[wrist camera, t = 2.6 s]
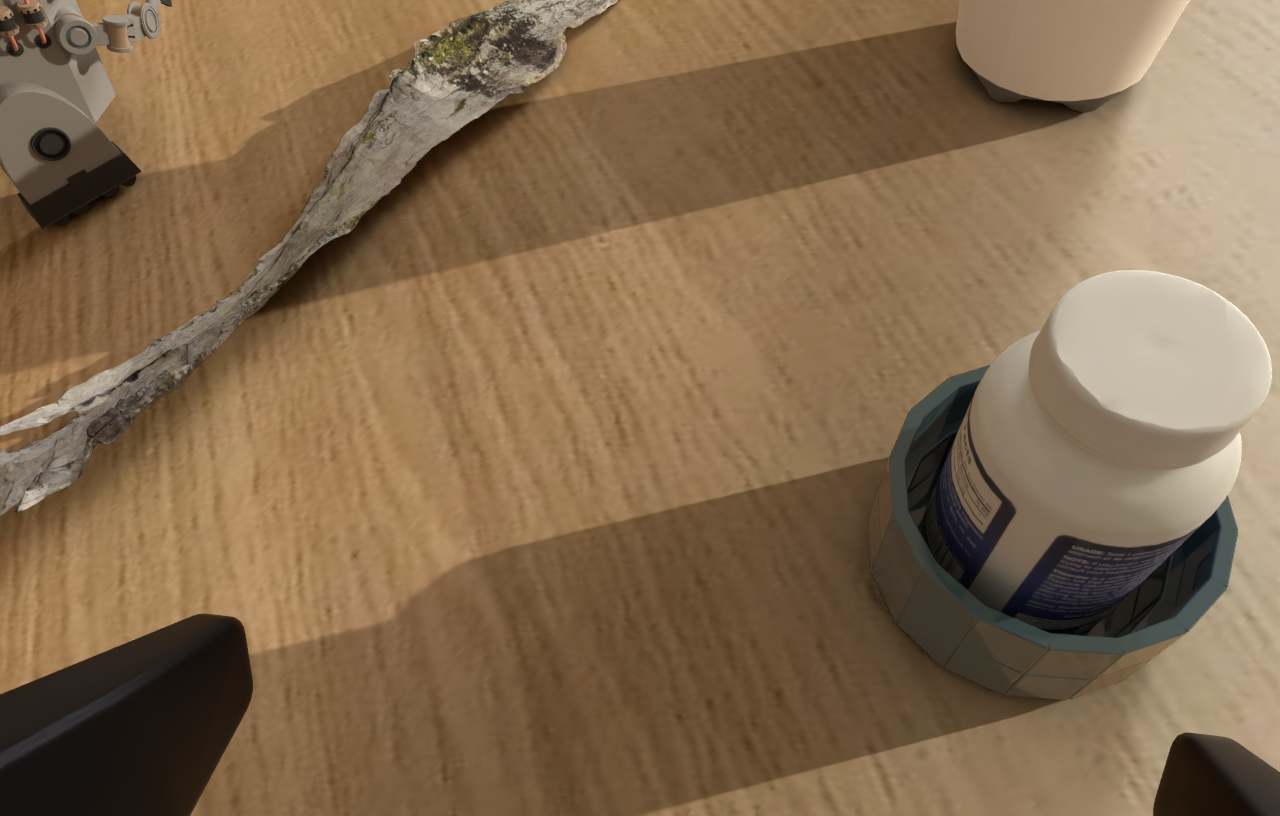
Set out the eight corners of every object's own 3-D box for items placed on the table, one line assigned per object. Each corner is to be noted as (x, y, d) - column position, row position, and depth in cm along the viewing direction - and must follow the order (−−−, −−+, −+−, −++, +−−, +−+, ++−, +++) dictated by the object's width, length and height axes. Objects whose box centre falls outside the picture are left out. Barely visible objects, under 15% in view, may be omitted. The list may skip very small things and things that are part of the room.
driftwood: (649, -1, 42) (565, -18, 44) (641, -55, 40) (554, -70, 42) (-49, 650, 25) (-126, 572, 28) (-121, 614, 24) (-198, 533, 26)
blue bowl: (1223, 570, 25) (1303, 504, 21) (1042, 768, 22) (1100, 729, 19) (988, 393, 28) (1024, 313, 25) (809, 546, 26) (824, 480, 22)
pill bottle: (1147, 536, 25) (1356, 317, 17) (1066, 689, 23) (1261, 524, 15) (969, 440, 27) (1079, 204, 19) (880, 573, 25) (961, 372, 17)
